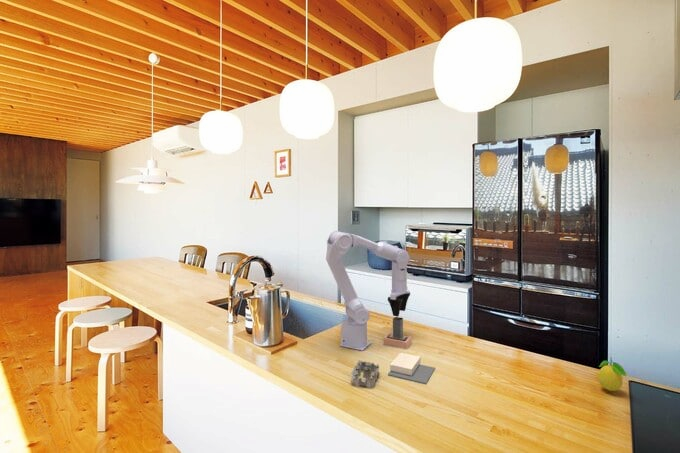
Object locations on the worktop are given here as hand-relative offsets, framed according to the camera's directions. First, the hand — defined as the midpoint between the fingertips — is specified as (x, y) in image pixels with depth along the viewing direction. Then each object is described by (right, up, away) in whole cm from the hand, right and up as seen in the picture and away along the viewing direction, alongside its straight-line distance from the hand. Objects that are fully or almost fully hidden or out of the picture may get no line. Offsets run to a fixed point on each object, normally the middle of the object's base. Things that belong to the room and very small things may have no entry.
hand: (399, 313), depth 139 cm
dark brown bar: (-1, -11, -4) cm, 12 cm away
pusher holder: (-1, -11, -4) cm, 12 cm away
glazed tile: (+1, -10, -19) cm, 22 cm away
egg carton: (-15, -13, -30) cm, 36 cm away
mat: (0, -12, -26) cm, 29 cm away
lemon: (+53, -13, -39) cm, 67 cm away
